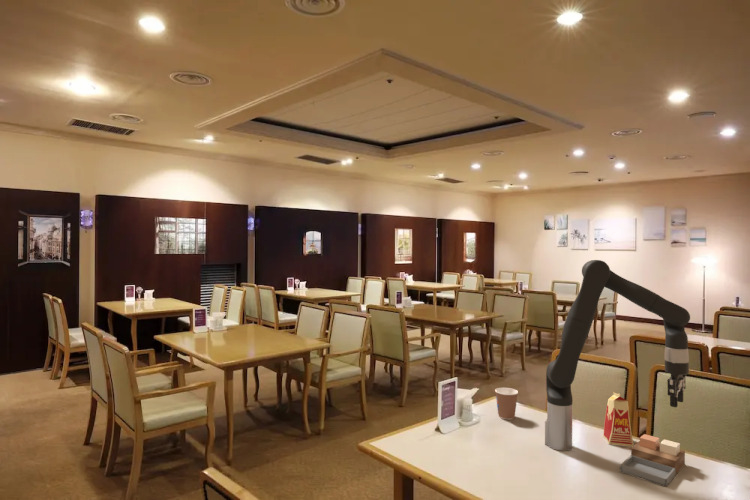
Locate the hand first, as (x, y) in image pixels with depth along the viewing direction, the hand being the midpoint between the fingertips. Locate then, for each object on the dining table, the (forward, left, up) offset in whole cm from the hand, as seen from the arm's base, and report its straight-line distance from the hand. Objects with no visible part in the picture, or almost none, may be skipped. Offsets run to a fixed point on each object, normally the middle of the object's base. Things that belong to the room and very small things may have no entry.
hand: (676, 404), depth 172 cm
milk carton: (-21, +1, -21) cm, 29 cm away
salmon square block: (-7, -8, -15) cm, 18 cm away
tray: (-4, -20, -20) cm, 29 cm away
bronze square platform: (-4, -9, -20) cm, 23 cm away
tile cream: (0, -8, -15) cm, 17 cm away
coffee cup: (-66, -8, -21) cm, 69 cm away
